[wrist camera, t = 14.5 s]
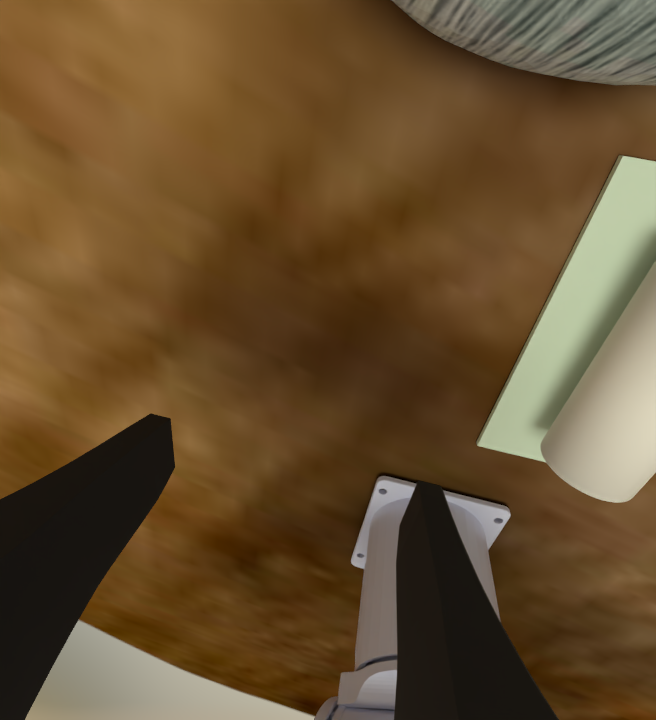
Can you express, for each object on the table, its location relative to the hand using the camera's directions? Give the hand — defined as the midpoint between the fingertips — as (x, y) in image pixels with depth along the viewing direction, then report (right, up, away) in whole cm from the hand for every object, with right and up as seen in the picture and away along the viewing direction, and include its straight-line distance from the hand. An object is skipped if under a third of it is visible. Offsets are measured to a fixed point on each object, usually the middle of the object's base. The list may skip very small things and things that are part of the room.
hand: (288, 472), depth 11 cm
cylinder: (+14, +4, +6) cm, 16 cm away
